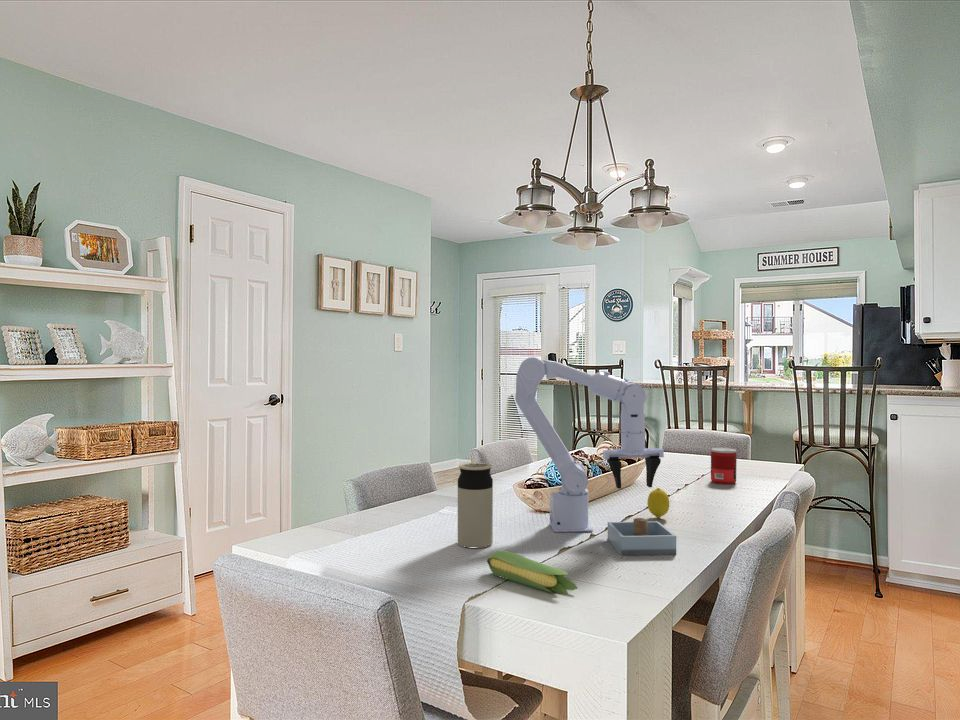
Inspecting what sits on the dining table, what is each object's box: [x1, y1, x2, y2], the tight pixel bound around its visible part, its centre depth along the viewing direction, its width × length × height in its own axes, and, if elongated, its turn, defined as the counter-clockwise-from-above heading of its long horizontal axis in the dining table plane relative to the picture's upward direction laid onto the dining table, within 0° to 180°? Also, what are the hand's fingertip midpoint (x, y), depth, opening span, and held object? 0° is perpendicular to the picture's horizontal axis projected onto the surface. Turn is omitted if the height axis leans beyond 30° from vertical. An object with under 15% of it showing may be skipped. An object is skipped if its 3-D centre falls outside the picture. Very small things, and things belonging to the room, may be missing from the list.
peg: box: [633, 517, 648, 536], centre depth 147 cm, size 3×3×6 cm
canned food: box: [710, 447, 738, 485], centre depth 218 cm, size 8×8×11 cm
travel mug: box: [457, 461, 494, 548], centre depth 149 cm, size 8×8×18 cm
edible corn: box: [486, 550, 579, 595], centre depth 124 cm, size 5×20×5 cm
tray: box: [607, 520, 677, 556], centre depth 147 cm, size 12×12×4 cm
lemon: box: [647, 487, 670, 519], centre depth 172 cm, size 6×6×8 cm
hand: (633, 487), depth 161 cm, fingers open, 7 cm apart
